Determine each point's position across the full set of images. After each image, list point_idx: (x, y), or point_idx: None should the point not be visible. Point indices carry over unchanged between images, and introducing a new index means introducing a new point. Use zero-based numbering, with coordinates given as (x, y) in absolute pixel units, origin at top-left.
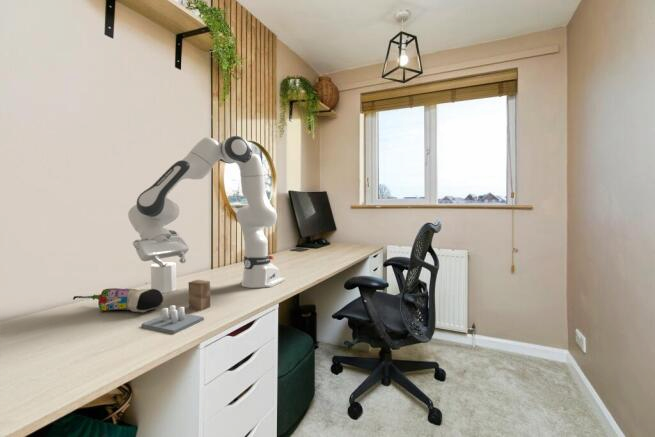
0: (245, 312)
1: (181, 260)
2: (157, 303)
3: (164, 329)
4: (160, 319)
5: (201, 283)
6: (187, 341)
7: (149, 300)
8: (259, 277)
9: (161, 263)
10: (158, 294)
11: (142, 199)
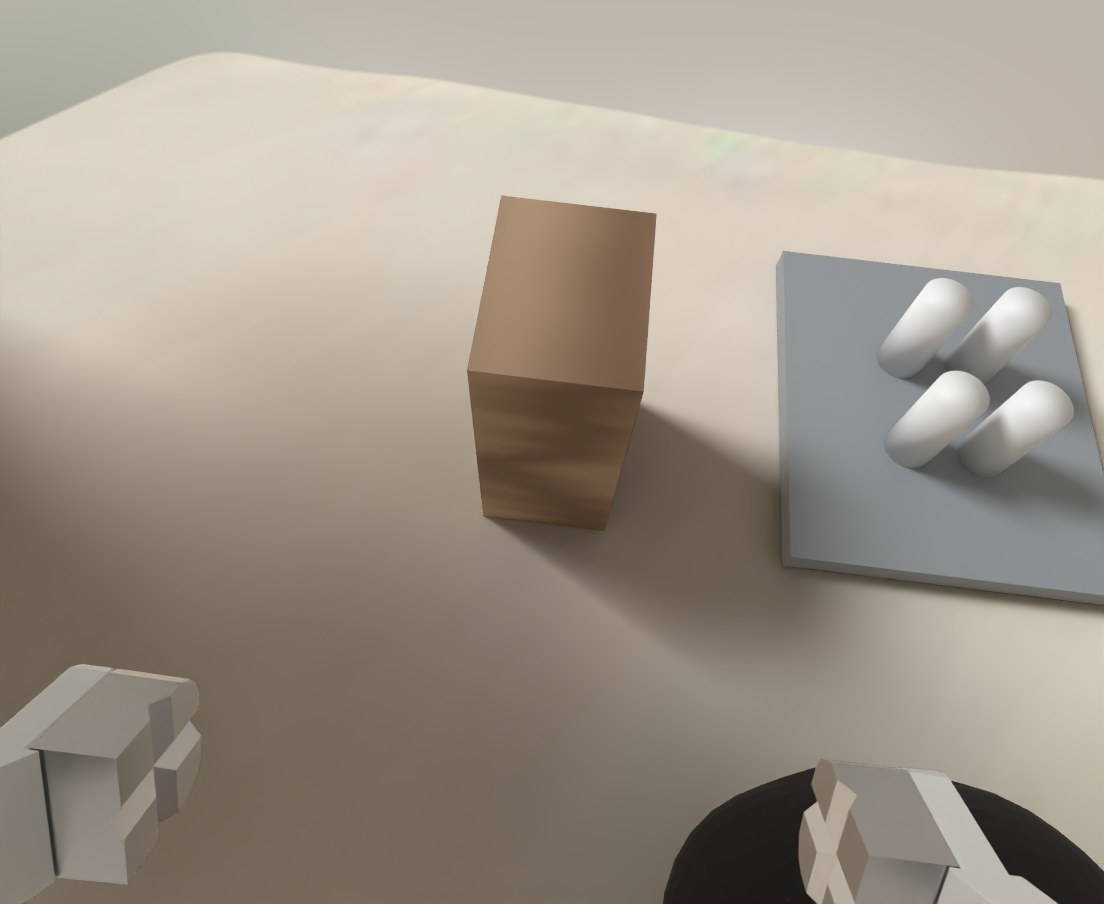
0: (547, 105)
1: (149, 775)
2: None
3: (1073, 362)
4: (983, 516)
5: (633, 220)
6: (1063, 178)
7: (973, 788)
8: None
9: (970, 837)
10: None
11: None
